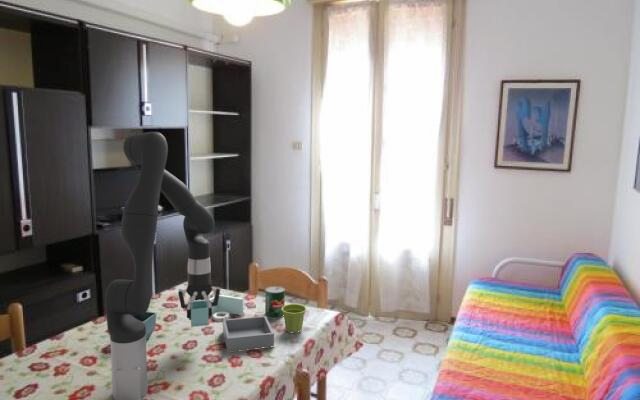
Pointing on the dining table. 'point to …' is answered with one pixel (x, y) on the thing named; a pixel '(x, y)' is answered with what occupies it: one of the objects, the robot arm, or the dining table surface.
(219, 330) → the dining table surface
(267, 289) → the canned tomato
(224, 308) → the right angle wall
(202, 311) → the teal crate
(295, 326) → the plant pot
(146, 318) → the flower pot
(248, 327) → the grey open tray
